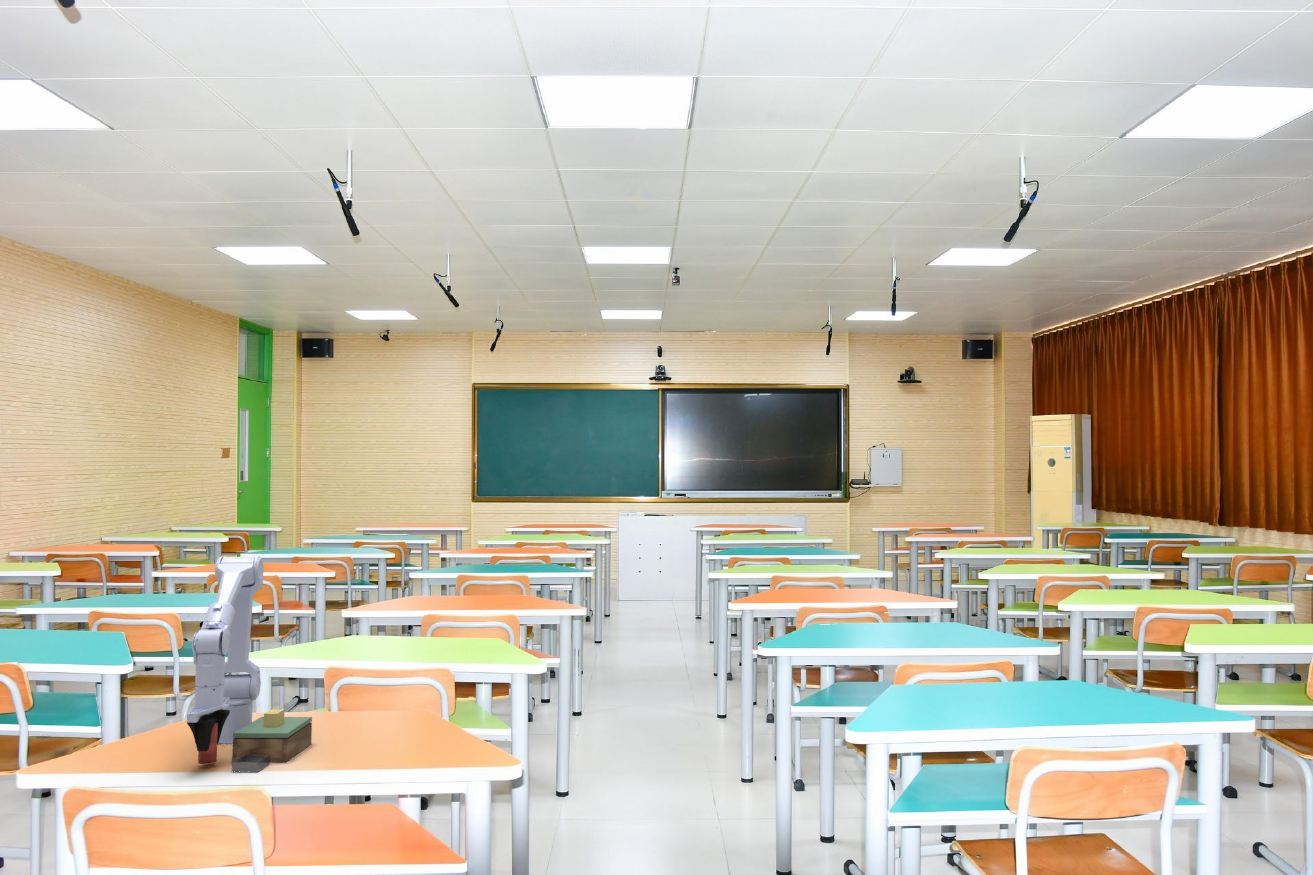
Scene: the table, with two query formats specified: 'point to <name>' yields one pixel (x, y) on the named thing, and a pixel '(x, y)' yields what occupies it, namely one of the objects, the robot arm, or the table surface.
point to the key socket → (251, 763)
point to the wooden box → (274, 745)
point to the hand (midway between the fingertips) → (207, 747)
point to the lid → (273, 726)
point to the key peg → (210, 749)
